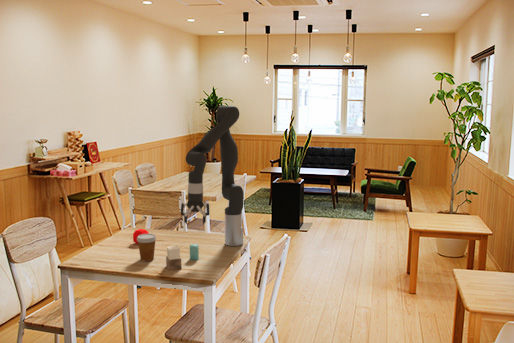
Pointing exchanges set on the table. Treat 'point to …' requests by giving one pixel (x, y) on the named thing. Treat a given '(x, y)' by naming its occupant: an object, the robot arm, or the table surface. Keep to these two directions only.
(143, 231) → the red faceted polyhedron
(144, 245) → the disposable coffee cup
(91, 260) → the table surface
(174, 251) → the cream block
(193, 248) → the teal capsule
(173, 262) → the walnut base block
